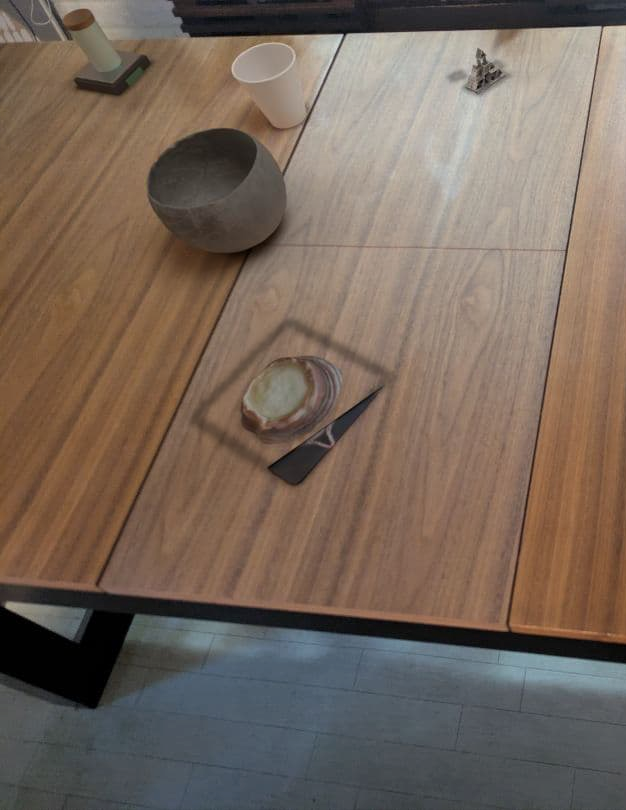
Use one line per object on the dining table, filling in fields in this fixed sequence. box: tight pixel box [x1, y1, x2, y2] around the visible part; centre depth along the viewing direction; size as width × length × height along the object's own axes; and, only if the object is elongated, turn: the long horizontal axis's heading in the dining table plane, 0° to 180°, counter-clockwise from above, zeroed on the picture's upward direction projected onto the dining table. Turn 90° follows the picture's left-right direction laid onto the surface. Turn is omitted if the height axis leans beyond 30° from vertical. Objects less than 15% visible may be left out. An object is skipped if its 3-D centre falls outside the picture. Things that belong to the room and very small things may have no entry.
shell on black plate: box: [240, 355, 385, 485], centre depth 102 cm, size 21×20×4 cm
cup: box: [230, 41, 307, 130], centre depth 133 cm, size 12×12×12 cm
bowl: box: [145, 127, 288, 254], centre depth 117 cm, size 20×20×15 cm
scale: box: [73, 49, 152, 96], centre depth 150 cm, size 11×11×3 cm
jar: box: [61, 8, 121, 73], centre depth 144 cm, size 6×6×10 cm
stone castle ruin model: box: [465, 47, 506, 95], centre depth 136 cm, size 9×9×8 cm
